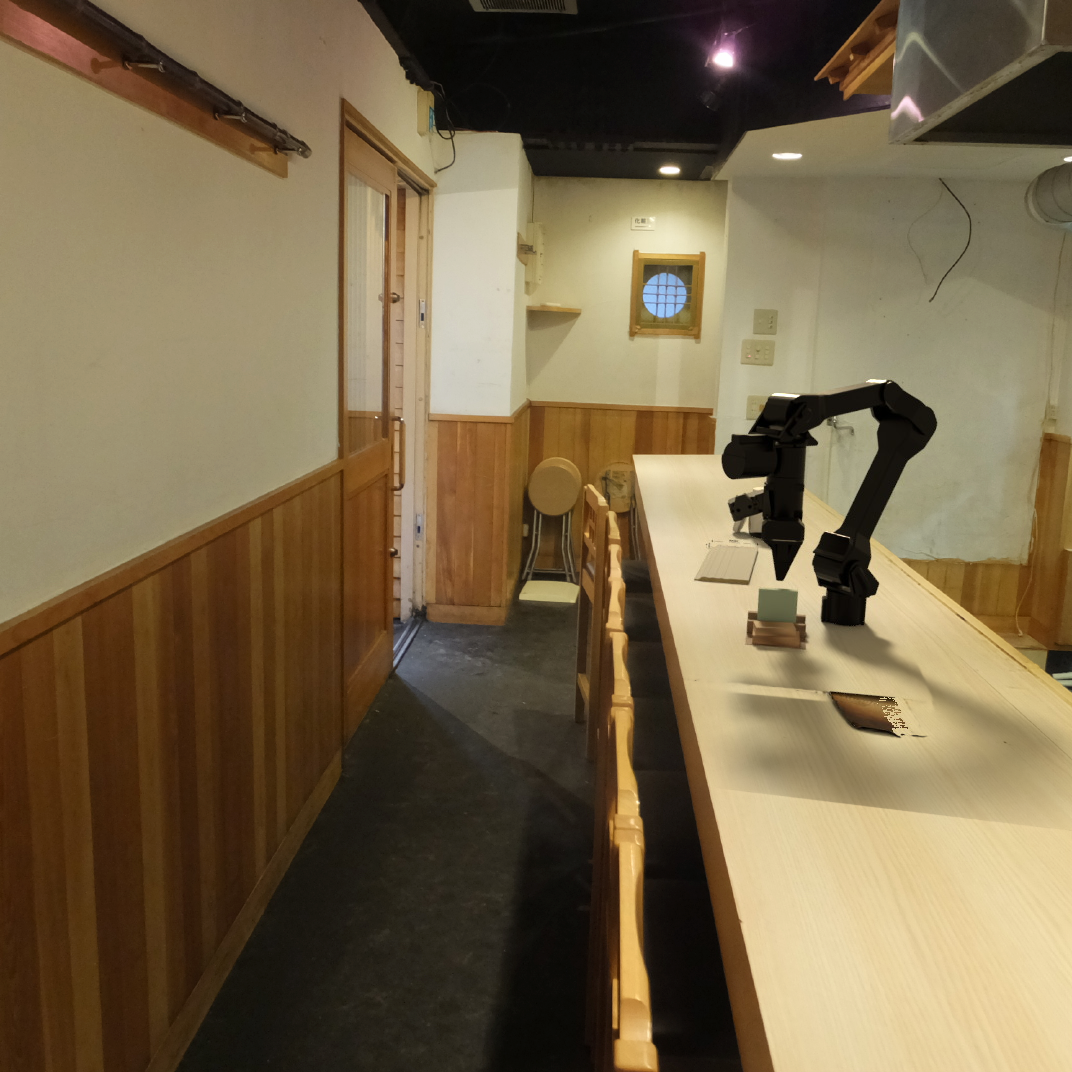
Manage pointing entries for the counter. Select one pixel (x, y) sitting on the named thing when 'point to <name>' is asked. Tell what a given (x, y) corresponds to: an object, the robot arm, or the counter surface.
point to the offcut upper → (774, 628)
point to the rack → (752, 617)
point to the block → (777, 604)
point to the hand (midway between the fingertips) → (779, 573)
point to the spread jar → (751, 522)
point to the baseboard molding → (728, 564)
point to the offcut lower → (777, 640)
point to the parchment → (867, 710)
